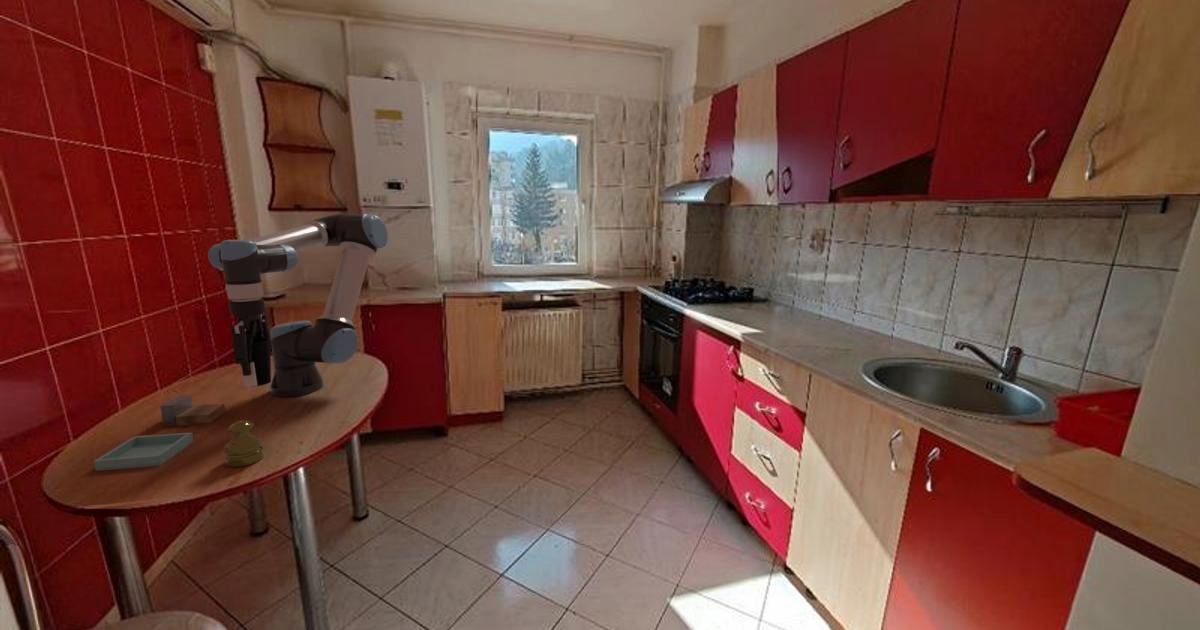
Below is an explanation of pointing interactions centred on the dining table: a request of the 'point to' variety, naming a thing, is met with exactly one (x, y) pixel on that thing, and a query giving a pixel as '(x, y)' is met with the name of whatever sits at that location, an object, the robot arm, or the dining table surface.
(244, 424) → the olive yellow vase
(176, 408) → the block
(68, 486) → the dining table surface
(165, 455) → the tray
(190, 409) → the tan square block
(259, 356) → the cup
